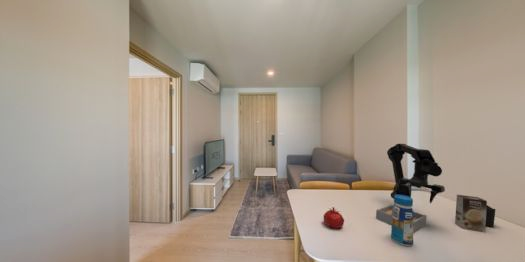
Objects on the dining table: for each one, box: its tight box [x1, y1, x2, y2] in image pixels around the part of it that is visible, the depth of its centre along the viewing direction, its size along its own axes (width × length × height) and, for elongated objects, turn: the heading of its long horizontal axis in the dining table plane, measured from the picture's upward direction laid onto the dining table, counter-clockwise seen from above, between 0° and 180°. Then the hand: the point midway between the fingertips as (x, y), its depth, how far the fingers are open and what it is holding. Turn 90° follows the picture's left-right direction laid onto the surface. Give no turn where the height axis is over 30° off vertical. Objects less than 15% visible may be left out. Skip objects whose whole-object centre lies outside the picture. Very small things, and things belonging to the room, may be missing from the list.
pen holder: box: [485, 204, 496, 228], centre depth 104 cm, size 9×9×10 cm
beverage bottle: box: [390, 195, 415, 247], centre depth 84 cm, size 8×8×20 cm
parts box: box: [375, 204, 427, 233], centre depth 103 cm, size 17×17×5 cm
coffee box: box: [454, 194, 488, 233], centre depth 99 cm, size 9×6×16 cm
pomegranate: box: [323, 207, 345, 229], centre depth 96 cm, size 10×10×9 cm
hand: (419, 200), depth 104 cm, fingers open, 9 cm apart
